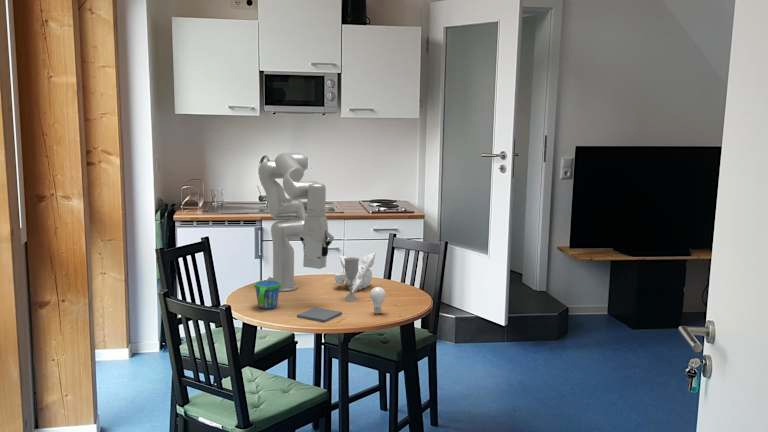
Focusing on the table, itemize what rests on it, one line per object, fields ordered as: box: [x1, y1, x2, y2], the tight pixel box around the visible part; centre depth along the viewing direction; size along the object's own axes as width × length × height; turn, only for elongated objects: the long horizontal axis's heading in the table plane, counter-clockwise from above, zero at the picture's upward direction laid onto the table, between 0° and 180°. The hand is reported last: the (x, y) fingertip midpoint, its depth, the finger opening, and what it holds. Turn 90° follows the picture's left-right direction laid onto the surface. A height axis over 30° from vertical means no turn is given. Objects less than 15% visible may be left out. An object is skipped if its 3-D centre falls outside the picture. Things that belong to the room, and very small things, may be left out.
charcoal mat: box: [296, 306, 343, 323], centre depth 264 cm, size 13×13×1 cm
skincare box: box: [302, 232, 329, 270], centre depth 276 cm, size 8×6×15 cm
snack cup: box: [253, 279, 281, 310], centre depth 274 cm, size 16×10×10 cm
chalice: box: [344, 256, 360, 302], centre depth 288 cm, size 7×7×18 cm
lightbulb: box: [369, 286, 387, 315], centre depth 268 cm, size 6×6×11 cm
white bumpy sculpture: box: [334, 251, 376, 294], centre depth 310 cm, size 19×20×20 cm
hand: (315, 254), depth 276 cm, fingers closed on skincare box, 8 cm apart
